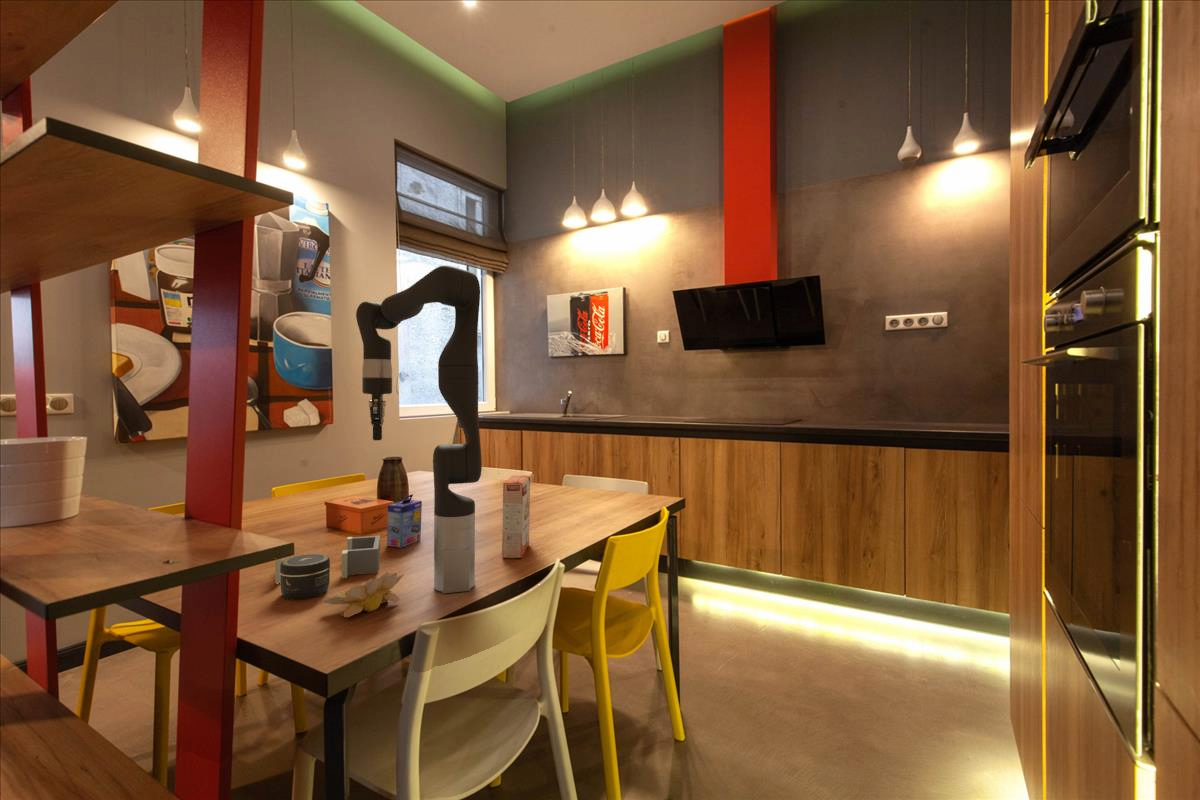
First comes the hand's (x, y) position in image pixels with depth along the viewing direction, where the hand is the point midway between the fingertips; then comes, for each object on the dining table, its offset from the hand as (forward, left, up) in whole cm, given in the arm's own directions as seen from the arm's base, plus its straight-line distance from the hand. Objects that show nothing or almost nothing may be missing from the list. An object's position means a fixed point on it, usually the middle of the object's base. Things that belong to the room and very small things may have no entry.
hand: (377, 440), depth 154 cm
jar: (-24, +14, -32) cm, 43 cm away
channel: (-8, +11, -32) cm, 35 cm away
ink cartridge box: (+12, -7, -32) cm, 35 cm away
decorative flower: (-38, 0, -32) cm, 50 cm away
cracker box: (-7, -37, -32) cm, 50 cm away
